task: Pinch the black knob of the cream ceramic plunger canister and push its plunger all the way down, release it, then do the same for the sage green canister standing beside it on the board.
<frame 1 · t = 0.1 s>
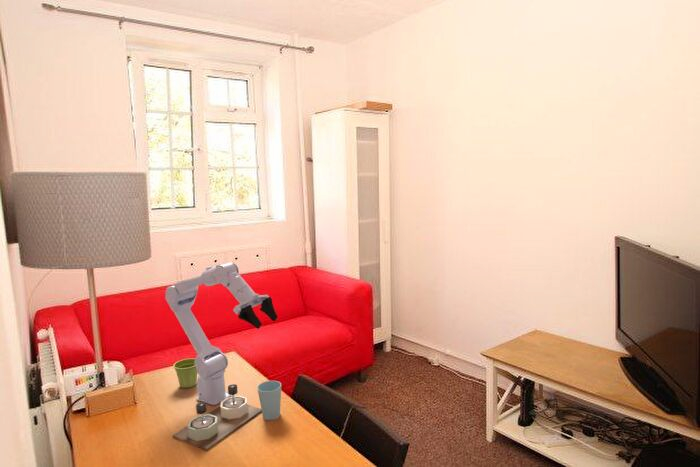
hand: (268, 322, 139), 32 cm above the table, tool tilted 50°, fingers open, 7 cm apart
housing a: (234, 413, 147), resting on board
cup: (271, 416, 144), on the table
plant pot: (188, 385, 169), on the table
housing b: (203, 434, 136), resting on board
plunger b: (202, 413, 135), point 7 cm above the table, slide at 0.0 cm
board: (219, 423, 141), on the table
plunger a: (233, 395, 146), point 7 cm above the table, slide at 0.0 cm
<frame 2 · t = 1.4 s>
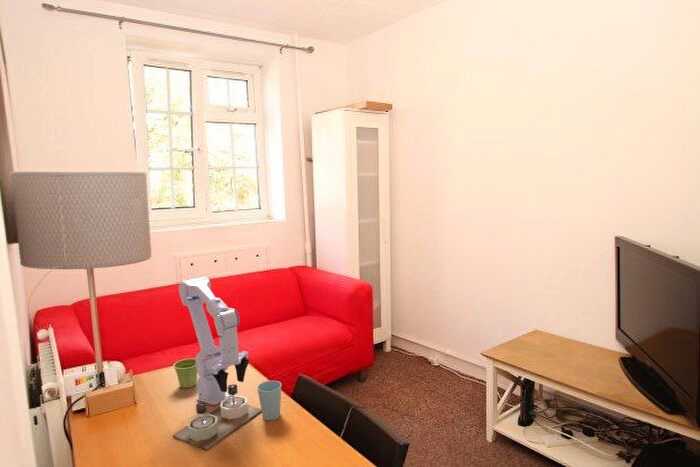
hand: (232, 386, 145), 10 cm above the table, tool pointing down, fingers open, 7 cm apart
nothing on the table moved.
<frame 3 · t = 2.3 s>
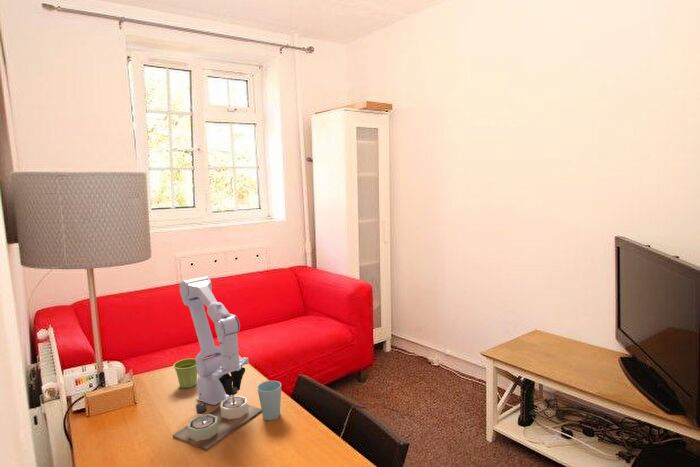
hand: (232, 392, 146), 8 cm above the table, tool pointing down, fingers closed on plunger a, 3 cm apart
plunger a: (233, 395, 146), point 7 cm above the table, slide at 0.0 cm, touching gripper
everything else where it was.
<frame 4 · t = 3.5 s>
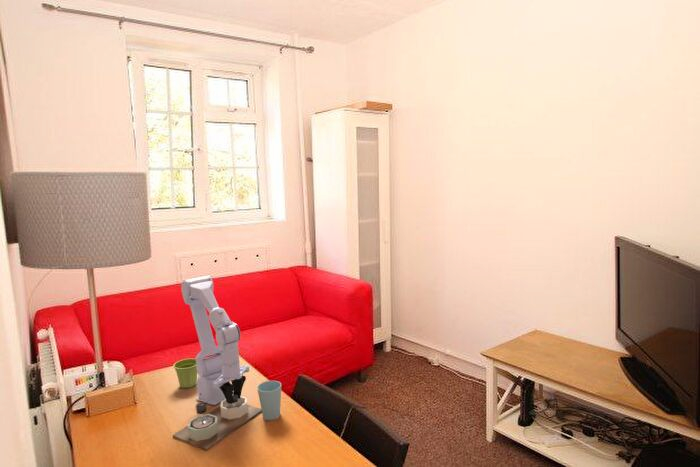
hand: (233, 400, 146), 5 cm above the table, tool pointing down, fingers closed on plunger a, 3 cm apart
plunger a: (233, 403, 146), point 4 cm above the table, slide at 2.8 cm, touching gripper
everything else where it was.
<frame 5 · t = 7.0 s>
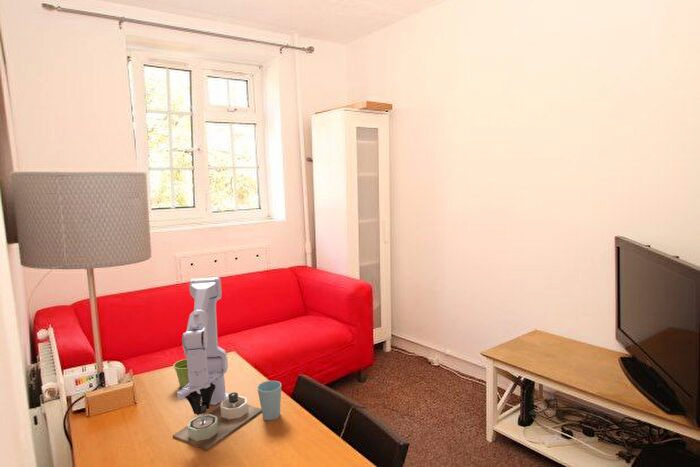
hand: (201, 410, 135), 8 cm above the table, tool pointing down, fingers closed on plunger b, 3 cm apart
plunger b: (202, 413, 135), point 7 cm above the table, slide at 0.0 cm, touching gripper
plunger a: (233, 403, 146), point 4 cm above the table, slide at 2.8 cm
everything else where it was.
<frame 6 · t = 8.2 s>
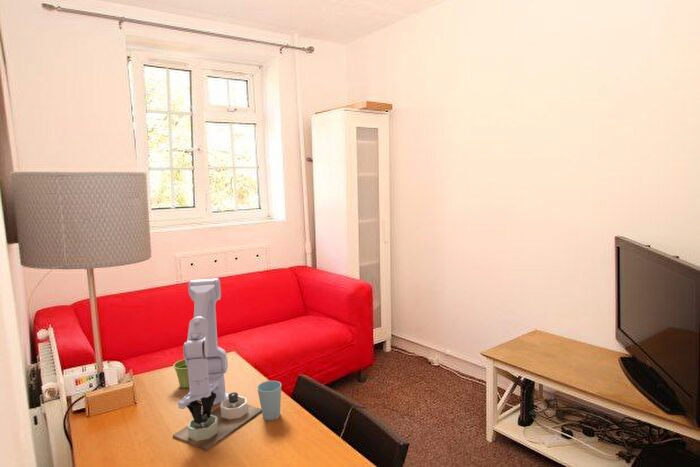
hand: (202, 419, 135), 5 cm above the table, tool pointing down, fingers closed on plunger b, 3 cm apart
plunger b: (202, 422, 135), point 4 cm above the table, slide at 2.8 cm, touching gripper
everything else where it was.
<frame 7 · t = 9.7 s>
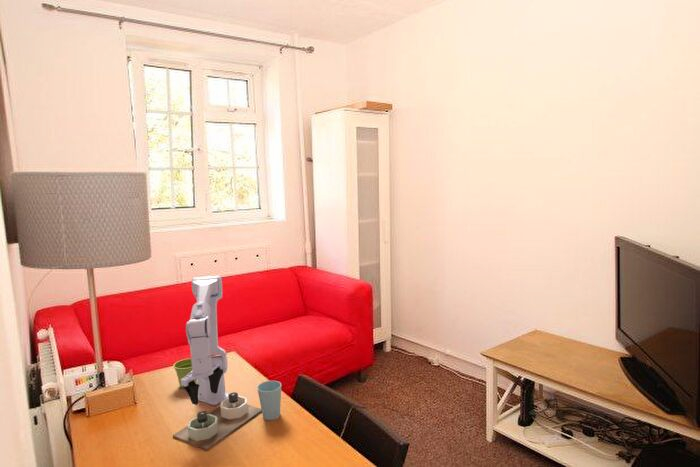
hand: (204, 397, 137), 10 cm above the table, tool pointing down, fingers open, 7 cm apart
plunger b: (202, 422, 135), point 4 cm above the table, slide at 2.8 cm
everything else where it was.
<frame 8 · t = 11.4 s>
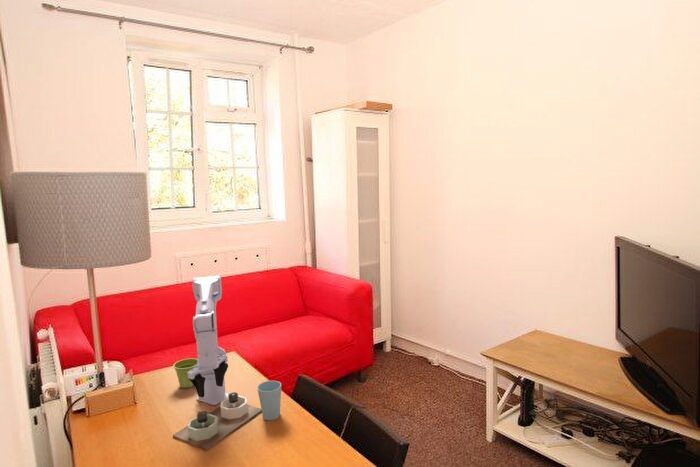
hand: (210, 390, 141), 10 cm above the table, tool pointing down, fingers open, 7 cm apart
nothing on the table moved.
at the end: plunger a slide at 2.8 cm; plunger b slide at 2.8 cm; the gripper is holding nothing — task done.
